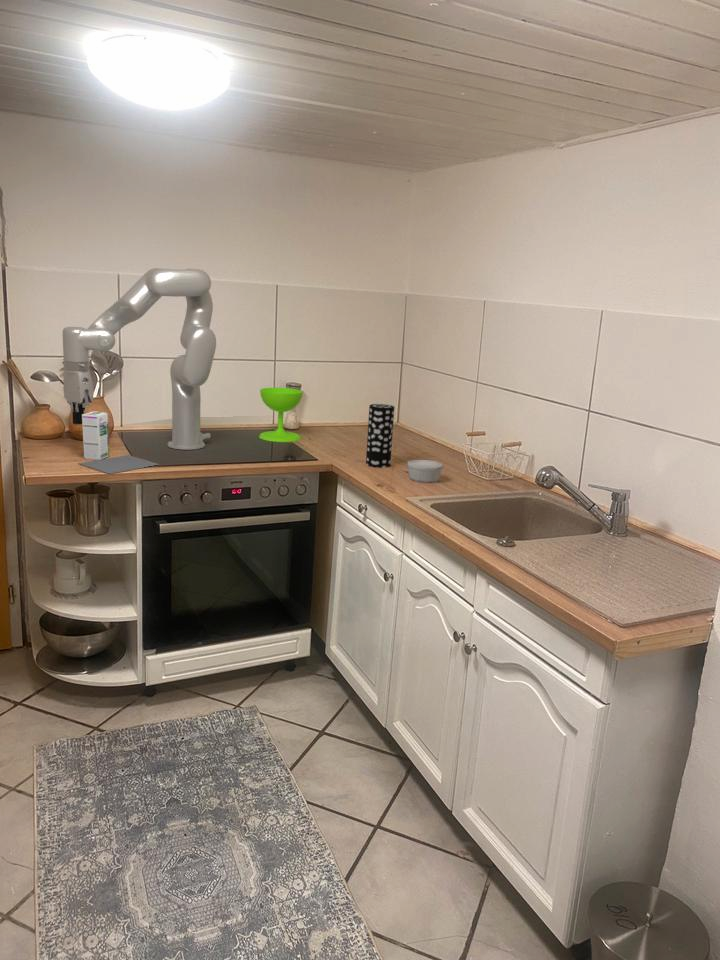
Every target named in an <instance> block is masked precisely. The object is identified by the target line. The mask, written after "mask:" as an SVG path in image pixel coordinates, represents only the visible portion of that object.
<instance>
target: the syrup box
mask: <svg viewBox="0 0 720 960" xmlns="http://www.w3.org/2000/svg"><path fill="white" fill-rule="evenodd" d="M81 425H82V426H81V427H82V440H83V441H82V442H83V443H82V444H83V445H82V446H83V458H84V459H87V460H91V461H95V460H101V459H107V458H110V443H109V442H110V439H109V437H110V436H109V417H108V412H105V411H97V410H96V411H94V410H92V411H90V412H86V413H84V414H82V424H81Z"/></svg>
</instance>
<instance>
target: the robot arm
mask: <svg viewBox="0 0 720 960" xmlns="http://www.w3.org/2000/svg"><path fill="white" fill-rule="evenodd" d="M211 287H212V280H211V277H210V275H209V274H208V273H207V272H206V271H204V270H203V269H199V268H198V269H197V268H185V269H182V268H181V269H175V268H174V269H173V268H151V269H149V270H147V271H146V272H145V273H144V274H143V275H142V276H141V277H140V278H138V280H137V281H136V282H135V283H134V284H133V285H132V286H131V287H130V288H129V289H128V290H127V291H126V292H125V293H124V294H123V295H122V296H121V297H119V299H118V300H116V301H115V302H114V303H113V304H112V305H111V306H110V307H108V308H107V309H106V310H104V312H102V314H100V315H99V316H98V317H97V318H96V319H95V320H94V321H93V322H92V323H91V324H90V325H89V327H88V328H85V327H82V326H66V327H63V329H62V350H63V351H62V352H63V371H64V372H63V373H64V374H63V397H64V399H65V400H66V403H67V404H68V405H69V406H70V408H71V409H70V410H71V412H72V414H71V415H72V424H73V425H76V426H77V425H82V414H85V412H86V408H90V404H91V403H93V402H94V389H93V380H92V376H91V372H90V356H89V355H90V354H89V351H92V352H93V351H94V352H105V353H106V352H108V351H111V350H112V349H113V348H114V346H115V345H116V337H115V335H116V334H117V333H118V332H119V331H121V329H122V328H124V327H125V326H126V325H129V324H130V323H133V322H135V321H138V320H139V319H141V318H142V317H143V316H144V315H145V314H146V313H147V312H148V311H149V310H150V309H151V308H152V307H153V306H154V305H155V304H156V303H157V302H158V301H159V300H160V299H161V298H162V297H185V299H186V310H185V318H184V321H183V325H182V327H181V328H182V329H181V332H180V337H179V338H180V340H179V341H180V345H181V346H182V347H183V349H185V354H181V355H178V356H176V357H175V358H174V359H173V361H172V363H171V364H170V367H169V368H170V369H169V371H170V382H171V392H172V394H171V395H172V397H171V400H172V402H171V411H172V412H171V417H172V418H171V421H172V422H171V428H172V429H171V430H172V431H171V434H172V435H171V439H172V440H169V441H168V442H167V447H168V448H171V449H174V450H184V451H185V450H186V451H187V450H188V451H190V450H199V449H203V448H204V447H205V442H204V441H205V440H207V439H211V433H210V432H205V433H203V432H201V402H202V401H201V398H202V397H201V386H203V385H204V384H205V383H206V382H207V381H208V379H209V376H210V375H211V374H210V373H211V371H212V366H213V361H214V357H215V354H216V350H217V349H216V348H217V338H216V337H217V336H216V335H215V333H214V330H212V329H211V328H210V327H211V322H212V316H213V310H214V309H213V308H214V306H213V305H214V303H213V299H212V295H211V292H210V289H211Z"/></svg>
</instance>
